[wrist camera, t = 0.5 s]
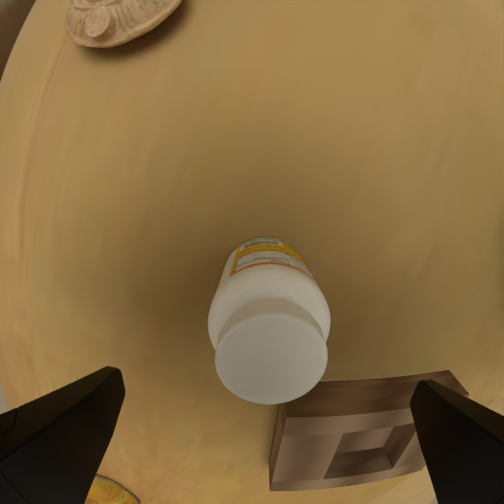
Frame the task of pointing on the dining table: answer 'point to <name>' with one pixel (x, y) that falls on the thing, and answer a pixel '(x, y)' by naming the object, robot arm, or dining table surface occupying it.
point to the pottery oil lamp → (114, 20)
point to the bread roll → (110, 492)
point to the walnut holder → (349, 433)
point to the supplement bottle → (268, 324)
